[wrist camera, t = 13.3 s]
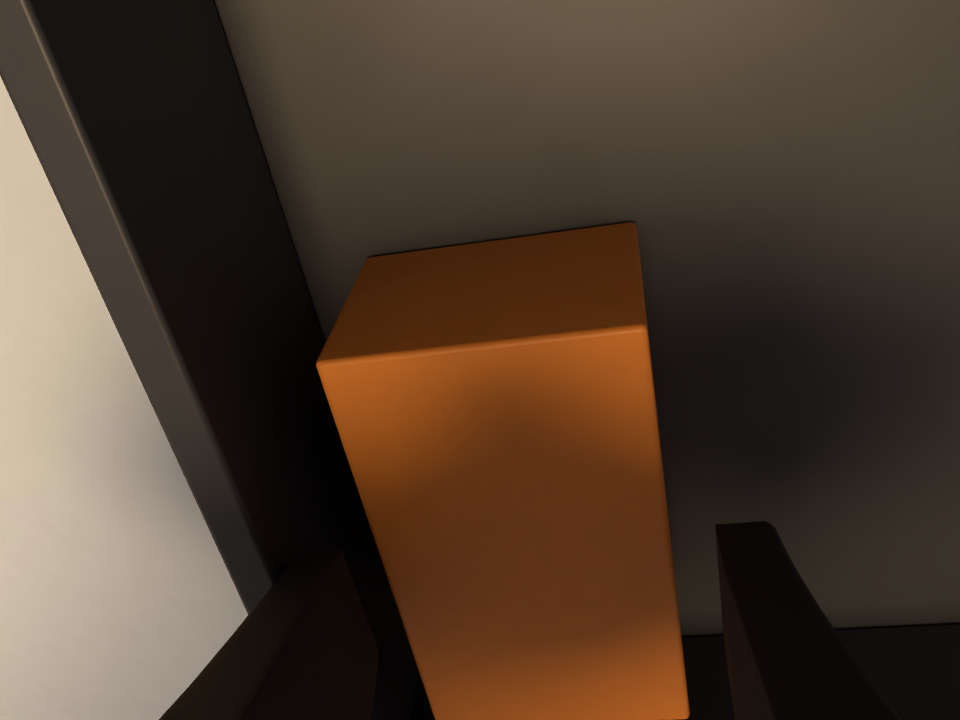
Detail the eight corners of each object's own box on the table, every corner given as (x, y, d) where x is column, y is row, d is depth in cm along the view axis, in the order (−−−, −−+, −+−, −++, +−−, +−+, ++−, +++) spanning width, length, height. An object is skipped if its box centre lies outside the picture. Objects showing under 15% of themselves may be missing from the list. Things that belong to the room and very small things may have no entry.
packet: (635, 219, 13) (647, 326, 10) (675, 576, 16) (690, 721, 14) (364, 255, 13) (312, 364, 11) (459, 589, 17) (436, 729, 14)
